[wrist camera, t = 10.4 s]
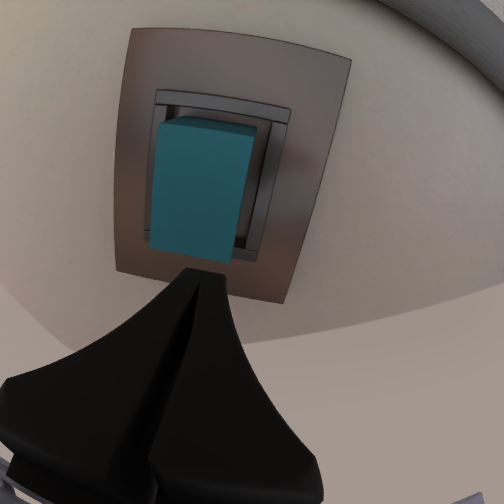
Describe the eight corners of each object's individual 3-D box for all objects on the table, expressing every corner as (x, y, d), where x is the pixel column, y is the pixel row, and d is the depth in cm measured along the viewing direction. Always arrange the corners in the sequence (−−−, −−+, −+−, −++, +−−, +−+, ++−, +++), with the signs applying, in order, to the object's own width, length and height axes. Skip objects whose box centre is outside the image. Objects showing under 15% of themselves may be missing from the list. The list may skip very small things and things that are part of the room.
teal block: (237, 227, 18) (229, 264, 14) (171, 215, 18) (149, 248, 14) (257, 126, 15) (254, 137, 11) (183, 115, 15) (158, 122, 11)
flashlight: (212, -47, 11) (234, -105, 7) (540, 142, 14) (569, 106, 10) (179, -48, 8) (205, -122, 4) (566, 182, 11) (601, 143, 7)
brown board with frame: (282, 295, 21) (284, 316, 19) (121, 263, 21) (109, 280, 19) (347, 61, 13) (358, 57, 11) (138, 30, 13) (121, 24, 11)
